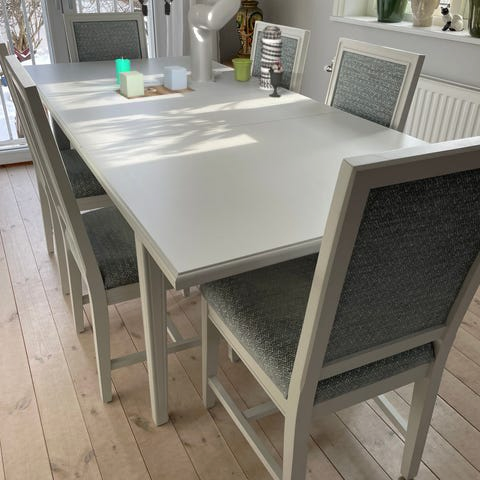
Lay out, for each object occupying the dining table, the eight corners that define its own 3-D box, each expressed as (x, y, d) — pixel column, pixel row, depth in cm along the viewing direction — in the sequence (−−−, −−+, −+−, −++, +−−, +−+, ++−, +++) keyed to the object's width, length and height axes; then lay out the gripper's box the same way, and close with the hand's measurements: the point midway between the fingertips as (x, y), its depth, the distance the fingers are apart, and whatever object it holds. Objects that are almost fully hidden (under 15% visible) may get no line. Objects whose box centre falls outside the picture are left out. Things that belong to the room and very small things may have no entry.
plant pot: (237, 83, 230) (238, 63, 226) (228, 78, 238) (228, 59, 233) (255, 81, 234) (256, 61, 230) (245, 77, 242) (246, 57, 237)
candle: (130, 87, 216) (128, 58, 210) (116, 87, 216) (113, 57, 210) (133, 84, 222) (130, 55, 216) (119, 83, 221) (116, 54, 216)
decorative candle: (276, 91, 219) (280, 29, 207) (255, 89, 222) (258, 27, 209) (281, 87, 227) (286, 26, 214) (262, 84, 229) (265, 24, 217)
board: (178, 85, 223) (178, 81, 222) (196, 93, 212) (196, 89, 211) (113, 93, 208) (113, 89, 207) (128, 101, 197) (128, 97, 196)
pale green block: (136, 91, 208) (135, 70, 204) (144, 95, 203) (143, 74, 199) (120, 93, 204) (118, 72, 200) (127, 97, 199) (126, 75, 195)
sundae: (284, 95, 215) (287, 57, 207) (280, 98, 209) (283, 60, 202) (269, 93, 216) (271, 56, 209) (264, 96, 211) (267, 58, 203)
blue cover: (178, 84, 219) (178, 65, 215) (186, 88, 215) (186, 68, 211) (164, 86, 216) (163, 66, 212) (172, 90, 211) (171, 70, 207)
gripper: (170, -34, 203) (171, 13, 212) (129, -34, 194) (132, 15, 203) (179, -33, 198) (180, 15, 206) (137, -33, 189) (140, 17, 198)
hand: (156, 15), depth 205 cm, fingers open, 9 cm apart
